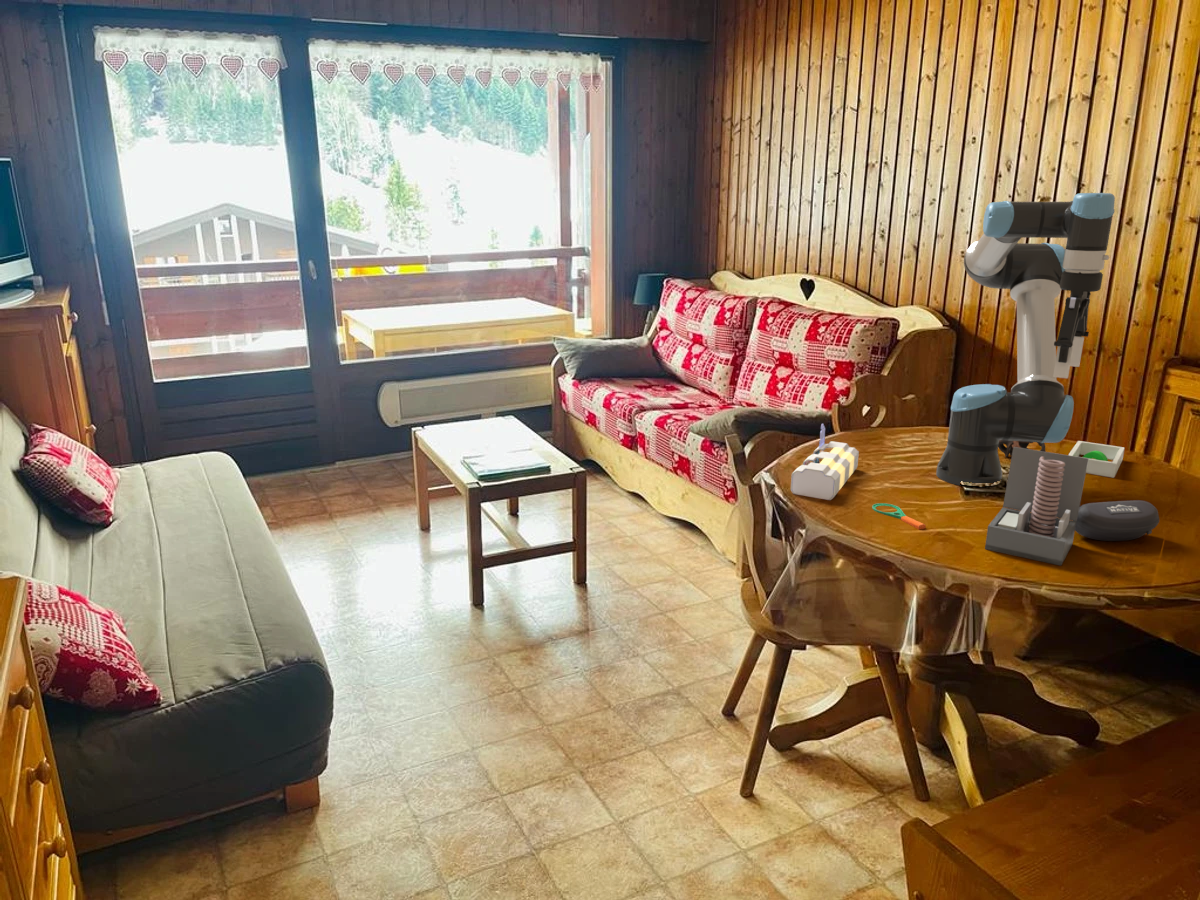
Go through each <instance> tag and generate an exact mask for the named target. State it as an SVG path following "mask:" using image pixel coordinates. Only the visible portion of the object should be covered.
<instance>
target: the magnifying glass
mask: <svg viewBox="0 0 1200 900" xmlns="http://www.w3.org/2000/svg"><path fill="white" fill-rule="evenodd" d="M884 506H885V507H891V508H894V509H895V510H896V511H892V512H891V511H890V512H889V511H888V512H887V511H886V512H885V511H882V510H879V509H877V507H884ZM871 509H872V510H873V511H874V512H876V513H878V514H882V515H884V516H889V517H892V518H896V519H899V520H901V522H902V521H903V522H904V523H906V524H907V525H910V526H912V527H913V528H914V529H915V528H916V529H917V530H923V529H926V527H927V526H926V524H925V523H923V522H920V521H919V520H916V519H914V518H911V517H909V516H907V515H906V514H905V513H904V511H903V510H902V509H901V508H900V507H899V506H897V505H895V504H891V503H882V502H881V503H874V504H872V506H871Z"/></svg>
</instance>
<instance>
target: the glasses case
mask: <svg viewBox="0 0 1200 900" xmlns="http://www.w3.org/2000/svg"><path fill="white" fill-rule="evenodd" d="M1159 523H1160V517H1159V512H1158V509H1157V508H1156V507H1155V506H1154V505H1153V504H1152V503H1151V502H1149V501H1147V500H1139V499H1136V500H1135V499H1134V500H1117V501H1101V502H1099V501H1098V502H1089V503H1085V504H1082V505H1080V507H1079V512H1078V517H1077V521H1076V526H1075V533H1077V534H1079V535H1081V536H1082V537H1085V538H1088V539H1092V540H1096V541H1107V542H1125V541H1131V540H1136V539H1139V538H1142V537H1143V536H1145V535H1146V536H1147V535H1151V534H1152V532H1153V529H1155V528H1156V527H1157V526H1158V524H1159Z"/></svg>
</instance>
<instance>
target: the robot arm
mask: <svg viewBox="0 0 1200 900" xmlns="http://www.w3.org/2000/svg"><path fill="white" fill-rule="evenodd" d="M1115 200H1116V197H1115V195H1114V194H1113V193H1110V192H1107V193H1106V192H1081V193H1077V194H1075V195H1074V196H1073V200H1071V201H1010V200H1003V201H995V202H994V201H993V202H990V203H988V204H987V206H986V207H985V211H984V215H983V222H982V225H983V226H982V231H983V234H982V235H981V237H980V238H979V239H978V240H977V241H974V242H973V243H972V244H970V246H969V247H968V249H967V250H966V251H965V253H964V257H963V266H964V269H965V271H966V273H967V275H968V276H969V277H970V278H971V280H973V281H974V282H976V283H977V284H979V285H981V286H983V287H986V288H991V289H997V290H998V289H1002V290H1003V289H1004V290H1009V294H1010V295H1009V297H1010V298H1011V299H1012V300H1013V301H1015V302H1016V331H1017V332H1016V346H1017V347H1016V348H1017V349H1016V351H1017V354H1016V356H1017V357H1016V359H1017V361H1016V362H1017V364H1016V365H1017V370H1016V371H1017V382H1016V383H1015V384H1014V385H1013V386H1012V387H1011V389H1010V392H1008V391H1007V389H1006V387H1005V386H1004V385H1000V384H991V383H985V384H984V383H982V384H973V385H972V384H971V385H967V386H962V387H961V388H959V389H957V390H956V391H955V392H954V394H953V396H952V401H951V405H950V419H949V426H948V427H949V428H948V435H947V444H946V447H945V449H944V451H943V453H942V454H941V457H940V459H939V461H938V463H937V467H936V472H935V474H936V476H937V478H938V479H940V480H942V481H944V482H946V483H949V484H952V485H956V486H961V485H960V482H961V481H963V482H969V483H970V482H972V483H994V482H997V481H1000V480H1001V479H1003V470H1002V465H1001V460H1000V455H999V452H998V451H999V448H998V444H999V440H1010V441H1024V442H1033V443H1037V442H1039V443H1044V444H1045V443H1049V444H1050V443H1051V444H1052V443H1053V444H1058V443H1060V442H1061V441H1063V440H1064V439H1065V437H1066V435H1067V433H1068V432H1069V429H1070V426H1071V424H1072V423H1071V422H1072V419H1073V413H1074V409H1075V408H1074V406H1075V405H1074V404H1075V403H1074V401H1075V400H1074V398H1073V396H1072V395H1070V394H1065V387H1064V385H1063V383H1061V382H1059V381H1058V380H1057V378H1059V379H1069V375H1070V369H1071V367H1075V368H1077V367H1078V368H1079V367H1080V366H1081V365H1080V363H1081V358H1082V353H1083V346H1084V340H1085V337H1088V336H1089V334H1090V333H1089V332H1090V331H1087V330H1088V318H1089V308H1090V307H1089V306H1090V301H1091V300H1090V297H1091V292H1093V293H1095V292H1099V291H1101V288H1102V283H1103V276H1104V274H1103V272H1101V271H1102V270H1104V268H1105V261H1108V260H1109V259H1110V255H1109V254H1107V250H1108V245H1109V239H1110V233H1111V228H1112V222H1113V217H1114V214H1115ZM1022 238H1027V239H1028V238H1034V239H1035V238H1042V239H1043V238H1044V239H1045V238H1046V239H1047V238H1048V239H1049V238H1050V239H1051V238H1052V239H1054V238H1056V239H1059V238H1060V239H1066V246H1065V247H1064V246H1062V245H1060V244H1058V243H1057V244H1056V243H1048V242H1041V243H1026V242H1025V243H1022V242H1021V243H1019V242H1020V240H1021V239H1022ZM1062 290H1063V291H1070V295H1069V296H1067V297H1066V298H1065V303H1064V304H1065V305H1064V311H1063V315H1062V318H1061V323H1060V327H1059V332H1058V336H1057V338H1056V315H1055V314H1056V311H1055V310H1056V308H1055V307H1056V306H1055V305H1056V304H1055V303H1056V302H1055V299H1056V298H1058V296H1059V295H1060V294H1061V291H1062ZM1056 347H1057V349H1056ZM1001 481H1002V480H1001Z"/></svg>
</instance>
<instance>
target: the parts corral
mask: <svg viewBox="0 0 1200 900" xmlns="http://www.w3.org/2000/svg"><path fill="white" fill-rule="evenodd" d="M1091 451H1100V452H1102V453H1103V454H1104V455H1105V456H1106V457H1107V460H1111V461H1102V460H1096V459H1094V458H1092V459H1090V458H1089V459H1088V464H1087V470H1086V474H1090V475H1096V476H1102V477H1106V478H1113V479H1114V478H1115V477H1116V475H1117V473H1118V470H1119V469H1120V466H1121V464H1122V462H1123V458H1124V455H1125V447H1122V446H1119V445H1118V446H1116V445H1112V444H1111V445H1110V444H1103V443H1097V442H1096V443H1095V442H1089V441H1082V440H1077V441H1076V444H1075V445H1074V446H1073V447H1072V449H1071V450H1070V452H1069V453H1068V455H1070V456H1076V457H1080V455H1083V456H1084V455H1085V454H1087V453H1089V452H1091Z"/></svg>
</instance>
